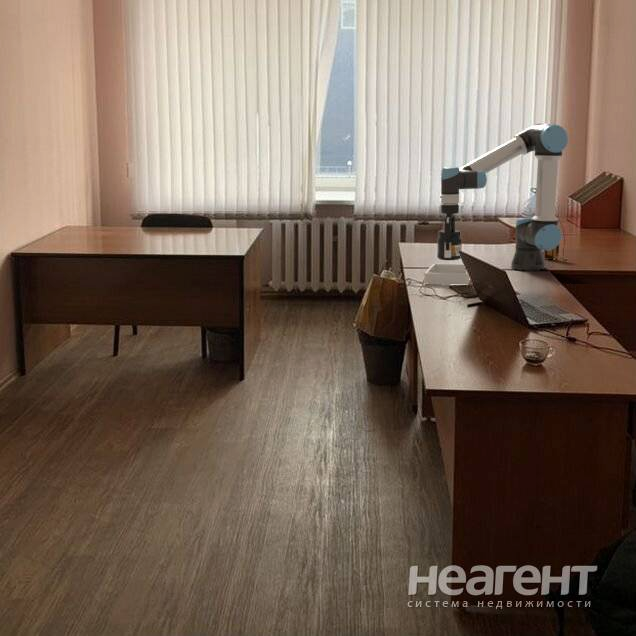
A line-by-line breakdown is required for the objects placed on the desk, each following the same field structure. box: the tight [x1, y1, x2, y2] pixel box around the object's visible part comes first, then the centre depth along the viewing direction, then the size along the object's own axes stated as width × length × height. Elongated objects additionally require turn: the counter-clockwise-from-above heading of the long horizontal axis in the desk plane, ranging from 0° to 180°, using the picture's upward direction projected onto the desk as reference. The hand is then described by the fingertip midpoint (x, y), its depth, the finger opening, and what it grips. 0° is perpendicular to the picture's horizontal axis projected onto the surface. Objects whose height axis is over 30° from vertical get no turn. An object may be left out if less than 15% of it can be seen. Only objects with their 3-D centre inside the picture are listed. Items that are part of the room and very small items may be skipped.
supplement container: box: [436, 229, 463, 261], centre depth 432 cm, size 10×10×12 cm
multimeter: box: [542, 219, 566, 261], centre depth 480 cm, size 15×10×20 cm
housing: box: [423, 263, 470, 286], centre depth 434 cm, size 24×18×5 cm
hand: (449, 255), depth 433 cm, fingers closed on supplement container, 10 cm apart
